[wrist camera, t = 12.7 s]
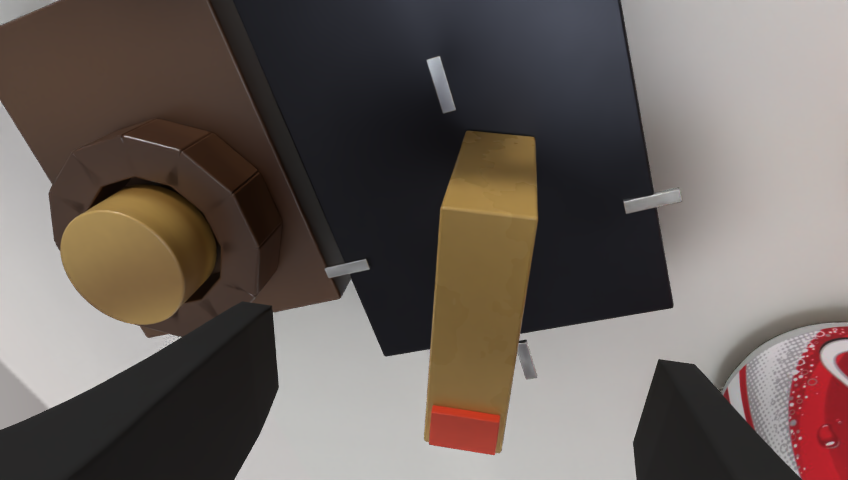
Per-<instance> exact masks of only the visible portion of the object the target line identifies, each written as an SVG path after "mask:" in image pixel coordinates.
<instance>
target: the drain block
mask: <svg viewBox="0 0 848 480" xmlns="http://www.w3.org/2000/svg"><path fill="white" fill-rule="evenodd" d="M0 101H1V102H2V104H3V105H4V107H5V109H6V110H7V112H8V113H9V115H10V117H11V118H12V120H13V122H14V123H15V125H16V126H17V128H18V130H19V131H20V133H21V134H22V136H23V138H24V139H25V141H26V143H27V144H28V146H29V147H30V149H31V151H32V152H33V154H34V156H35V157H36V159H37V160H38V162H39V164H40V165H41V167H42V168H43V170H44V172H45V173H46V175H47V177H48V178H49V180H50V181H51V183H52V187H51V189H50V192H49V201H50V210H51V218H52V226H53V235H54V241H55V242H56V245H57V247H58V249H59V250H60V246H61V239H62V236H63V233H64V231H65V229H66V227H67V226H68V224H69V223H70V222H71V221H72V220H73V219H74V218H76V217H77V216H79V215H80V214H82V213H84V212H85V211H87V210H89V209H90V208H92V207H94V206H95V205H97V204H99V203H100V202H102V201H104V200H105V199H107V198H109V197H110V196H112V195H113V194H115V193H117V192H118V191H120V190H122V189H123V188H126V187H129V186H132V185H139V184H148V185H156V186H161V187H164V188H167V189H169V190H171V191H174V192H176V193H177V194H179V195H181V196H182V197H184V198H185V199H187V200H188V201H189V202H190V203H192V204H193V205H194V206H195V207H196V208H197V209H198V210H199V211H200V212H201V214H202V215H203V216H204V218H205V219H206V221H207V222H208V224H209V226H210V228H211V230H212V232H213V235H214V238H215V241H216V247H217V257H216V263H215V267H214V269H213V271H212V273H211V275H210V276H209V278H208V279H207V280H206V281H205V282H204V283H203V284H202V285H201V286H200V287H199V288H198V289H197V290H196V291H195V292H194V293H193V294H192V296H191V297H190V298H189V299H188V300H187V301H186V302H185V303H184V304H183V305H182V306H181V307H180V308H179V309H178V310H177V311H176V312H175V313H174V314H173V315H172V316H171V317H169V318H168V319H166V320H164V321H161V322H158V323H155V324H148V325H139V326H140V327H141V329H142V330H143V332H144V333H145V335H146V337H148V338H150V337H155V336H160V335H165V334H172V335H175V336H181V337H183V336H185V335H187V334H188V333H190V332H192V331H193V330H195V329H196V328H198V327H200V326H201V325H203V324H204V323H206V322H208V321H209V320H211V319H213V318H214V317H216V316H218V315H219V314H221V313H222V312H224V311H226V310H228V309H229V308H231V307H233V306H235V305H236V304H238V303H240V302H242V301H243V302H250V303H257V304H265V305H272V311H273V312H278V311H283V310H288V309H292V308H297V307H302V306H307V305H312V304H317V303H322V302H327V301H332V300H337V299H340V298H341V297H342V295H343V293H344V291H345V289H346V287H347V285H348V284H349V282H350V280H351V277H350V274H346V275H341V276H336V277H332V278H328V276H327V274H326V271H325V269H324V268H325V266H329V265H333V264H338V263H342V262H344V260H343V258H342V255H341V253H340V251H339V248H338V246H337V244H336V241H335V239H334V237H333V234H332V232H331V230H330V227H329V225H328V223H327V220H326V218H325V216H324V213H323V211H322V209H321V206H320V204H319V202H318V199H317V197H316V194H315V192H314V190H313V187H312V185H311V183H310V180H309V178H308V176H307V173H306V171H305V169H304V166H303V164H302V162H301V159H300V157H299V155H298V152H297V150H296V148H295V145H294V143H293V141H292V138H291V136H290V134H289V131H288V129H287V127H286V124H285V122H284V119H283V117H282V115H281V112H280V110H279V108H278V105H277V103H276V101H275V98H274V96H273V94H272V91H271V89H270V87H269V84H268V82H267V80H266V77H265V75H264V73H263V70H262V68H261V66H260V63H259V61H258V59H257V56H256V54H255V51H254V49H253V47H252V44H251V42H250V40H249V37H248V35H247V33H246V30H245V28H244V26H243V23H242V21H241V19H240V16H239V14H238V12H237V9H236V7H235V5H234V2H233V0H59V1H56V2H54V3H52V4H49V5H47V6H45V7H42V8H40V9H38V10H35V11H33V12H31V13H28V14H26V15H24V16H21V17H19V18H17V19H14V20H12V21H10V22H7V23H5V24H3V25H0ZM60 252H61V250H60ZM135 325H138V324H135Z"/></svg>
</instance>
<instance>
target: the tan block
mask: <svg viewBox="0 0 848 480" xmlns="http://www.w3.org/2000/svg"><path fill="white" fill-rule="evenodd" d="M537 224H538V199H537V171H536V143H535V138H534V137H529V136H519V135H509V134H498V133H488V132H478V131H466V133H465V136H464V139H463V142H462V145H461V148H460V151H459V154H458V157H457V160H456V163H455V166H454V169H453V172H452V175H451V178H450V181H449V184H448V187H447V190H446V193H445V196H444V199H443V202H442V205H441V208H440V220H439V234H438V248H437V262H436V276H435V290H434V304H433V318H432V332H431V346H430V360H429V374H428V388H427V402H426V416H425V430H424V440H425V441H426V442H429V445H434V446H441V447H447V448H453V449H459V450H465V451H472V452H478V453H484V454H490V455H495V453H500V452H501V451H502V445H503V438H504V432H505V426H506V419H507V413H508V407H509V401H510V394H511V388H512V382H513V375H514V369H515V363H516V356H517V350H518V344H519V338H520V331H521V325H522V319H523V312H524V306H525V300H526V293H527V287H528V281H529V275H530V268H531V262H532V256H533V249H534V243H535V237H536V230H537Z"/></svg>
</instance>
